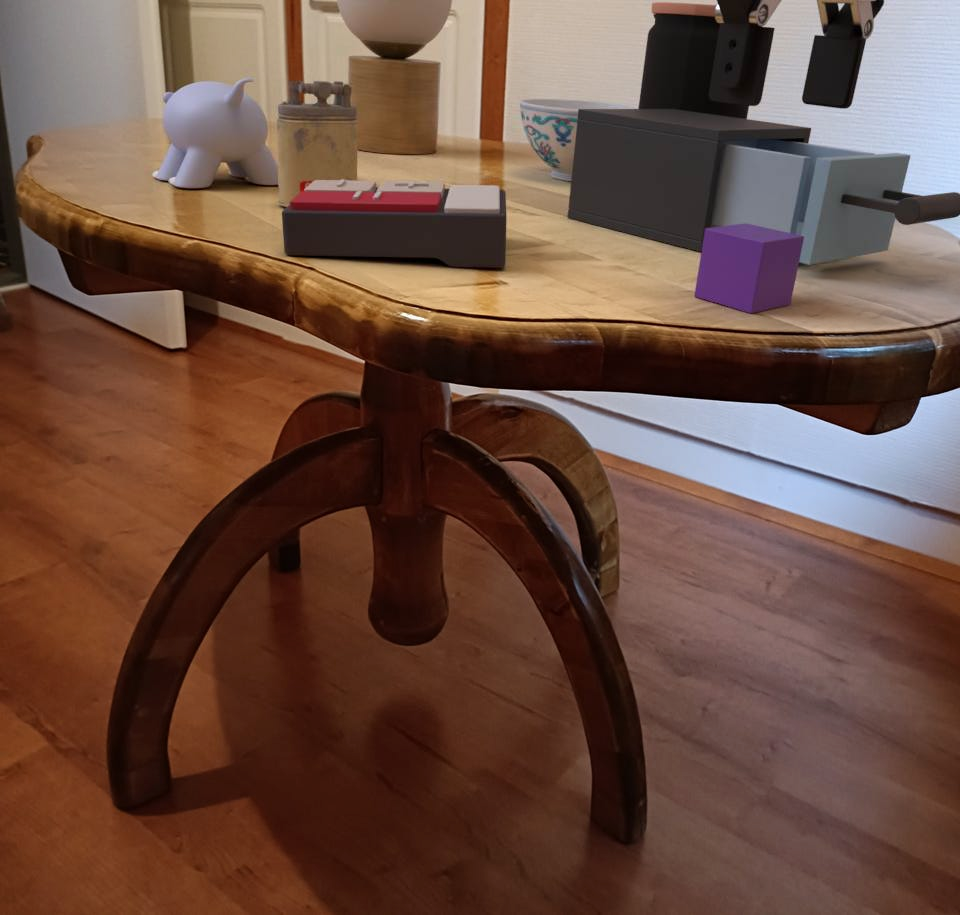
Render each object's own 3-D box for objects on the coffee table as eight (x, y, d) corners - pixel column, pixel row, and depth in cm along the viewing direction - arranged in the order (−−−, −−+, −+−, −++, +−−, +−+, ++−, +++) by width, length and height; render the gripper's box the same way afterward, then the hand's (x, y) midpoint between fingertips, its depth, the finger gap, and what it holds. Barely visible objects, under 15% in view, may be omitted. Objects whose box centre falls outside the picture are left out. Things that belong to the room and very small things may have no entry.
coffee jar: (741, 200, 101) (774, 12, 94) (720, 213, 92) (755, 7, 85) (643, 187, 105) (667, 5, 97) (614, 199, 96) (638, 0, 88)
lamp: (332, 136, 128) (332, -77, 118) (436, 141, 131) (446, -66, 121) (337, 151, 115) (339, -88, 104) (454, 156, 117) (466, -76, 107)
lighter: (288, 211, 79) (286, 81, 75) (269, 203, 82) (266, 77, 78) (364, 207, 83) (366, 83, 79) (344, 199, 86) (345, 79, 82)
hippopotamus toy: (234, 165, 100) (230, 66, 96) (302, 189, 89) (301, 79, 85) (130, 168, 93) (121, 63, 89) (189, 194, 83) (182, 76, 79)
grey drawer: (961, 267, 72) (989, 166, 69) (887, 284, 65) (914, 173, 62) (745, 219, 85) (760, 132, 82) (663, 229, 78) (676, 135, 75)
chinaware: (519, 184, 101) (525, 106, 97) (510, 165, 114) (515, 95, 111) (660, 193, 101) (671, 116, 98) (634, 172, 115) (643, 104, 112)
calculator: (309, 175, 73) (505, 178, 73) (312, 232, 75) (504, 235, 75) (279, 199, 63) (507, 203, 63) (283, 264, 65) (505, 268, 65)
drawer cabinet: (789, 238, 83) (811, 127, 79) (700, 252, 75) (720, 130, 71) (658, 208, 92) (672, 108, 89) (567, 217, 85) (578, 108, 81)
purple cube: (733, 288, 65) (745, 222, 63) (790, 304, 62) (804, 236, 60) (693, 296, 62) (704, 228, 60) (751, 313, 59) (764, 242, 57)
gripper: (826, -302, 42) (750, 110, 49) (991, -214, 53) (910, 114, 60) (690, -275, 47) (639, 95, 54) (866, -200, 58) (805, 101, 65)
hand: (781, 104), depth 57 cm, fingers open, 9 cm apart
